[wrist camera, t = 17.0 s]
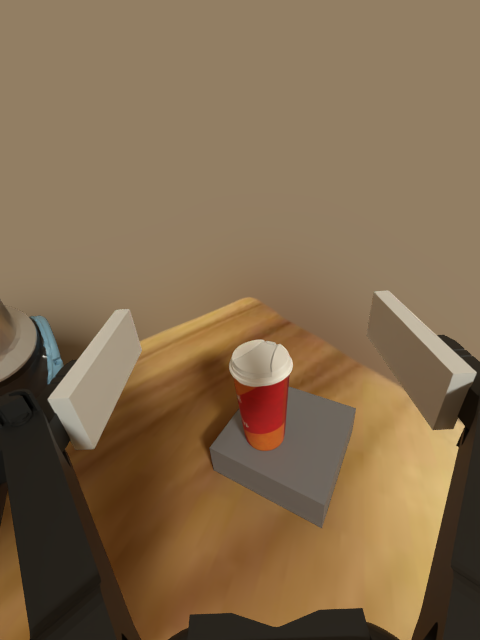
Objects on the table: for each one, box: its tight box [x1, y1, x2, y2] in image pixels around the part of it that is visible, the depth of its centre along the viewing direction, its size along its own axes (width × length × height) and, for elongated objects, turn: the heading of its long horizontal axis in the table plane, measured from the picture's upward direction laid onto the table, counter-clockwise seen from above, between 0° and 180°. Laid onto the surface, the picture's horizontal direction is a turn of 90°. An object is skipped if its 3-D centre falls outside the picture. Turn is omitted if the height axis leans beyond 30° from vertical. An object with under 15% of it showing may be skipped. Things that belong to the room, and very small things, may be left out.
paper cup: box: [229, 340, 293, 451], centre depth 38 cm, size 8×8×14 cm
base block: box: [210, 387, 356, 528], centre depth 44 cm, size 16×16×5 cm
